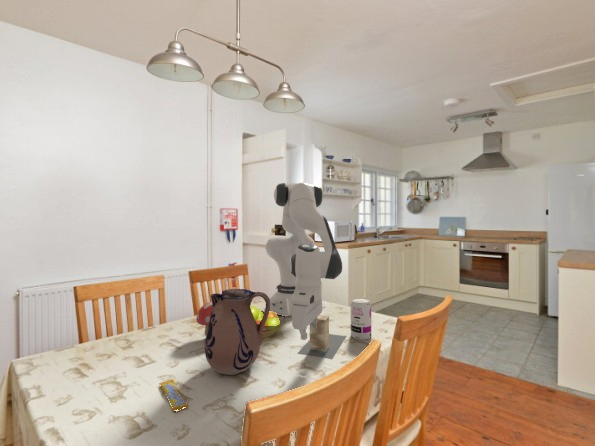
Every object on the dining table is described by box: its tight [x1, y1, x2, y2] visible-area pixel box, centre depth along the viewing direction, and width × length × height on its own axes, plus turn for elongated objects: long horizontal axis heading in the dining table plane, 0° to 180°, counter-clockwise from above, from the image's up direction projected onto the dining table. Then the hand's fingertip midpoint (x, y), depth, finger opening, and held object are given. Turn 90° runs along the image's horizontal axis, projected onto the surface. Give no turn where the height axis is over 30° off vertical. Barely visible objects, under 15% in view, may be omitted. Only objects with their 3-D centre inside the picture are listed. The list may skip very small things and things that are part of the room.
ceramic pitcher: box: [204, 288, 270, 376], centre depth 105 cm, size 18×21×25 cm
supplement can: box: [350, 298, 372, 341], centre depth 130 cm, size 8×8×15 cm
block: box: [309, 315, 330, 353], centre depth 118 cm, size 6×4×12 cm
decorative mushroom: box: [195, 301, 212, 336], centre depth 131 cm, size 13×13×15 cm
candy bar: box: [159, 378, 189, 412], centre depth 89 cm, size 17×4×2 cm, turn 35°
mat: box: [296, 333, 347, 360], centre depth 123 cm, size 13×22×1 cm, turn 158°
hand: (308, 333), depth 108 cm, fingers open, 8 cm apart
